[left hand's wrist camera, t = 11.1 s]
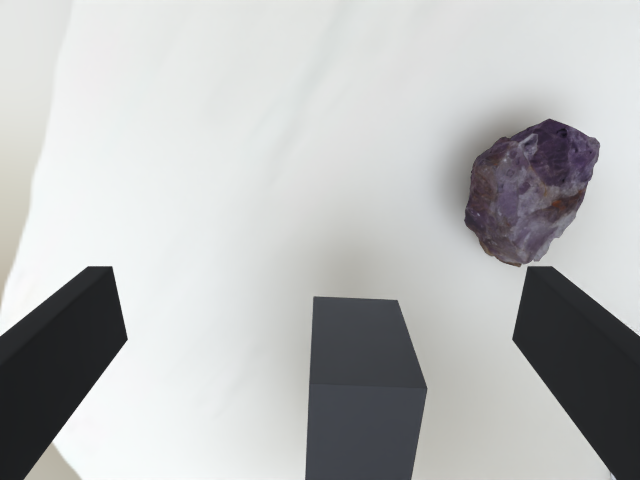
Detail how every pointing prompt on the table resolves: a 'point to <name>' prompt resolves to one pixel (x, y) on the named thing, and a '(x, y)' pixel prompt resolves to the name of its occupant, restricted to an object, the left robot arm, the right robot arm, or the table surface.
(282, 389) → the table surface
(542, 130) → the rock
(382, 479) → the box
